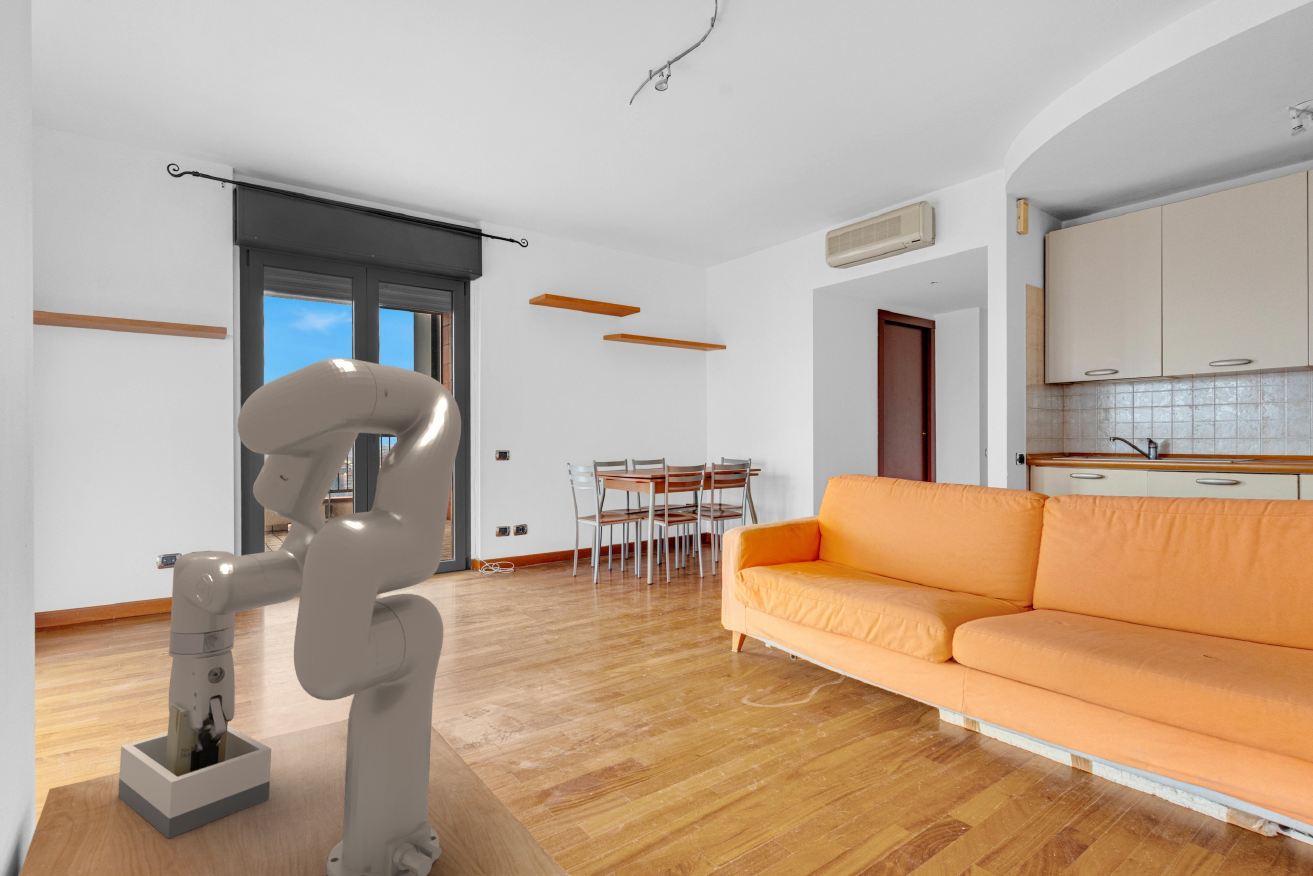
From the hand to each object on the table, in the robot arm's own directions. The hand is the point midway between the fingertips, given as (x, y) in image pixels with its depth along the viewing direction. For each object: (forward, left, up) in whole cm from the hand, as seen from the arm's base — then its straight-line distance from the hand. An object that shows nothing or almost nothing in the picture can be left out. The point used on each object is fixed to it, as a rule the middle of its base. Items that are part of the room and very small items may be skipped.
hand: (195, 769), depth 91 cm
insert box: (0, 0, -4) cm, 4 cm away
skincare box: (0, 0, -3) cm, 3 cm away
